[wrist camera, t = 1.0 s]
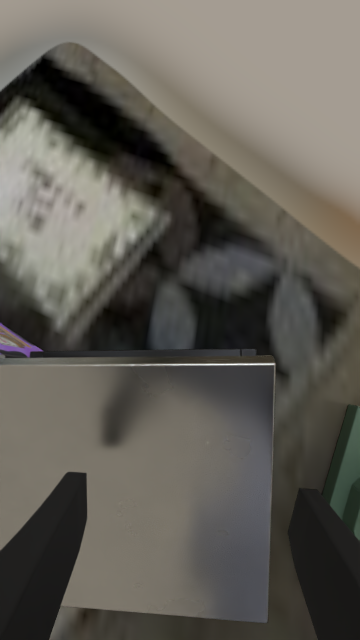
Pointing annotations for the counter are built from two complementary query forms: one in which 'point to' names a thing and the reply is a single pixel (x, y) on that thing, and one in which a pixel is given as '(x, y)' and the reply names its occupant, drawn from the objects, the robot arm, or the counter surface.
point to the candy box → (14, 344)
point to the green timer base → (346, 473)
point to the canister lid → (149, 476)
